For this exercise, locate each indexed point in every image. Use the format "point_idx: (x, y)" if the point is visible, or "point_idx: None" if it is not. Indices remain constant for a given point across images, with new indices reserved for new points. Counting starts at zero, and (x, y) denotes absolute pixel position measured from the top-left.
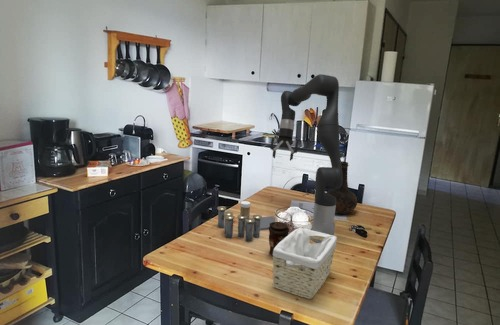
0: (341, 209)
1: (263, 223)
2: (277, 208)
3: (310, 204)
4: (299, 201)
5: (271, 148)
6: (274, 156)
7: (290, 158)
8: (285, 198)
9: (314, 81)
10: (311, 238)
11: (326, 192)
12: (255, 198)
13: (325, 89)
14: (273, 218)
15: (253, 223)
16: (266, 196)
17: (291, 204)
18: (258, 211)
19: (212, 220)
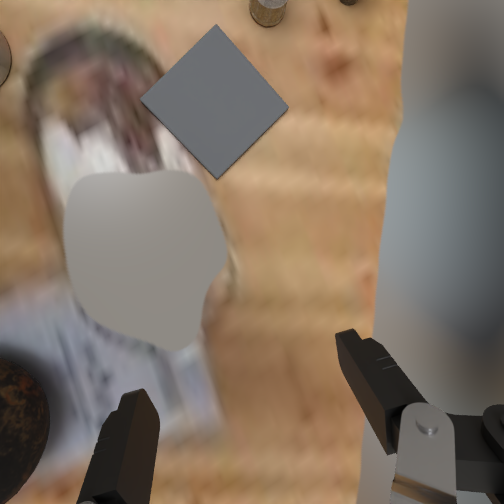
0: None
1: (220, 82)
2: (238, 292)
3: None
4: (187, 423)
5: (495, 416)
6: (348, 339)
7: (129, 403)
8: (250, 424)
9: None
10: (2, 34)
11: (13, 451)
12: None
13: None
14: (205, 154)
15: (256, 72)
16: (326, 401)
17: (204, 369)
18: (291, 219)
19: (400, 41)
